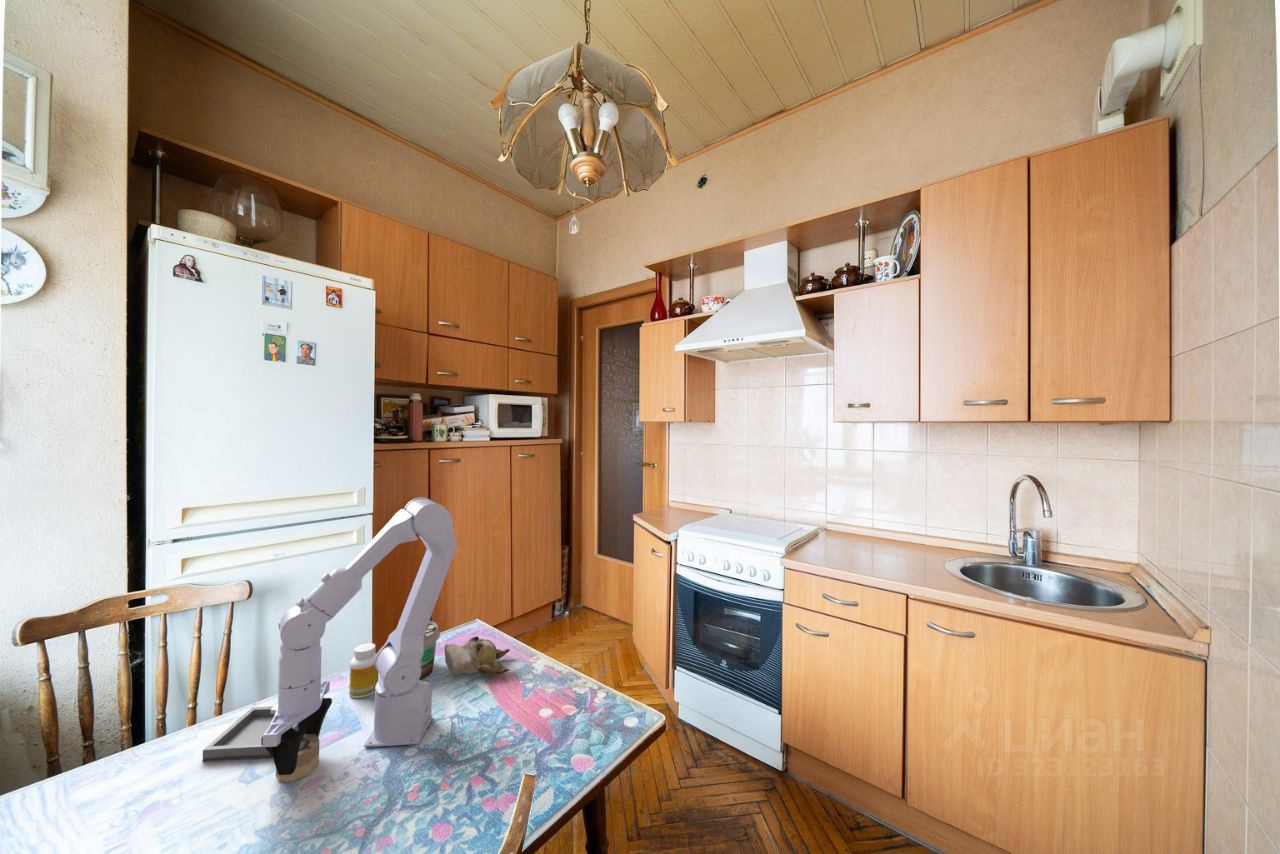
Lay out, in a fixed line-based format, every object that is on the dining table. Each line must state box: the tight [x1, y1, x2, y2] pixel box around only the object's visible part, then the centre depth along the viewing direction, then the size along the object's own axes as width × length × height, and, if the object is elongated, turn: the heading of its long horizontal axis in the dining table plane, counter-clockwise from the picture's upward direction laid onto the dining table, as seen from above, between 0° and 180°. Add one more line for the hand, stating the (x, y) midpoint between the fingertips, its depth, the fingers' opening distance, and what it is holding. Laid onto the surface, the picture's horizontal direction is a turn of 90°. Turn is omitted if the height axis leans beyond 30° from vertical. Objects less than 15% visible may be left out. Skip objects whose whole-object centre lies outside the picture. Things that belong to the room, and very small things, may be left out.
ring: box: [275, 734, 320, 783], centre depth 75 cm, size 5×5×4 cm
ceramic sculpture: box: [444, 636, 511, 678], centre depth 107 cm, size 11×9×15 cm
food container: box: [419, 620, 441, 681], centre depth 105 cm, size 12×6×10 cm, turn 168°
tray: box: [202, 705, 299, 762], centre depth 83 cm, size 12×12×2 cm
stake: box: [298, 734, 307, 751], centre depth 75 cm, size 2×2×6 cm
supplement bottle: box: [348, 642, 379, 699], centre depth 97 cm, size 5×5×10 cm
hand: (297, 759), depth 75 cm, fingers closed on ring, 5 cm apart
